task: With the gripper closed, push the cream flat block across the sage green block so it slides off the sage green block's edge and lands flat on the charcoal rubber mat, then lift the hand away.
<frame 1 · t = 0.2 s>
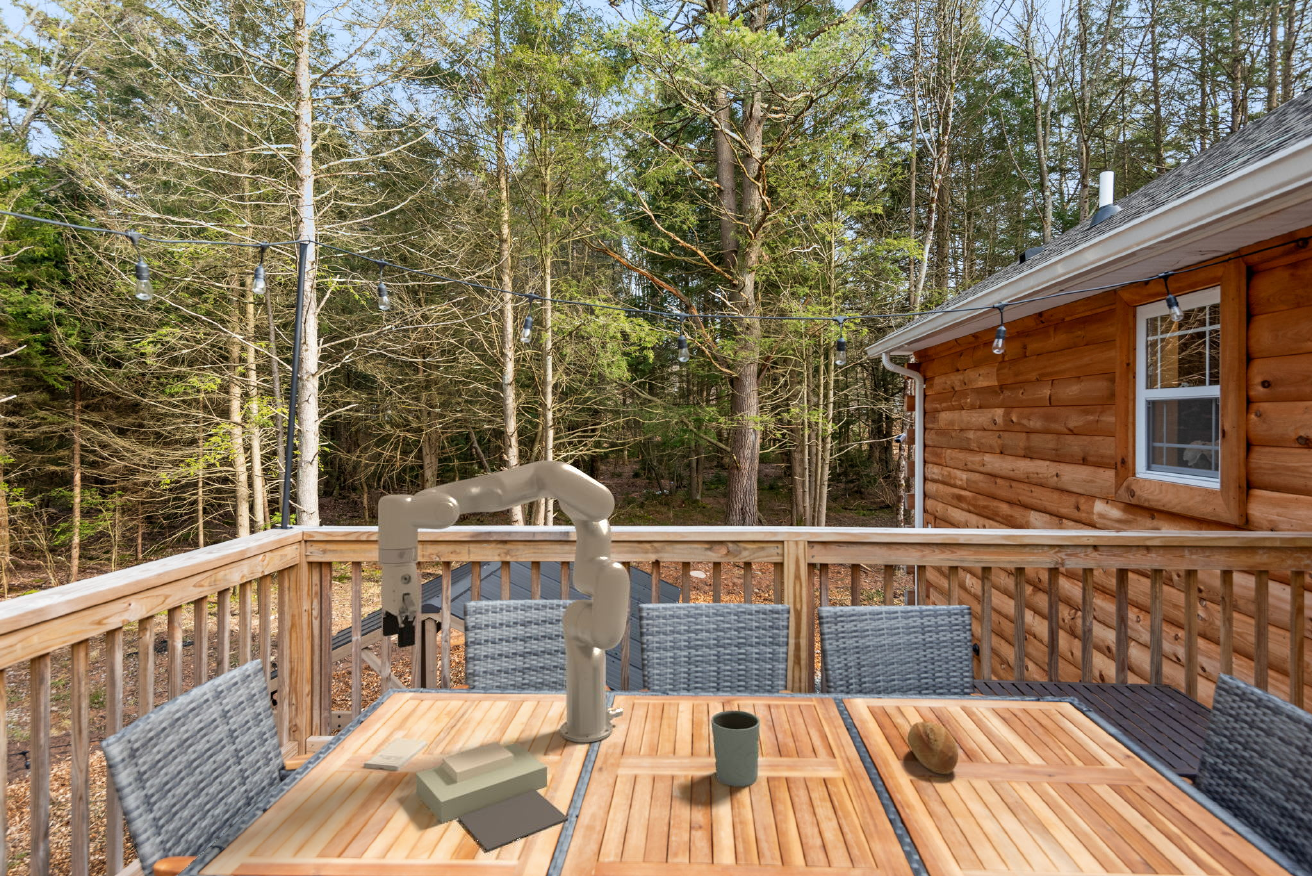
hand: (398, 640, 140), 30 cm above the table, tool pointing down, fingers open, 9 cm apart
bread roll: (932, 763, 151), on the table
cream flat block: (478, 766, 142), point 4 cm above the table, touching sage green block
mat: (513, 819, 129), on the table
sage green block: (482, 789, 140), on the table
grey green cup: (735, 777, 145), on the table
external hard drive: (396, 759, 155), on the table
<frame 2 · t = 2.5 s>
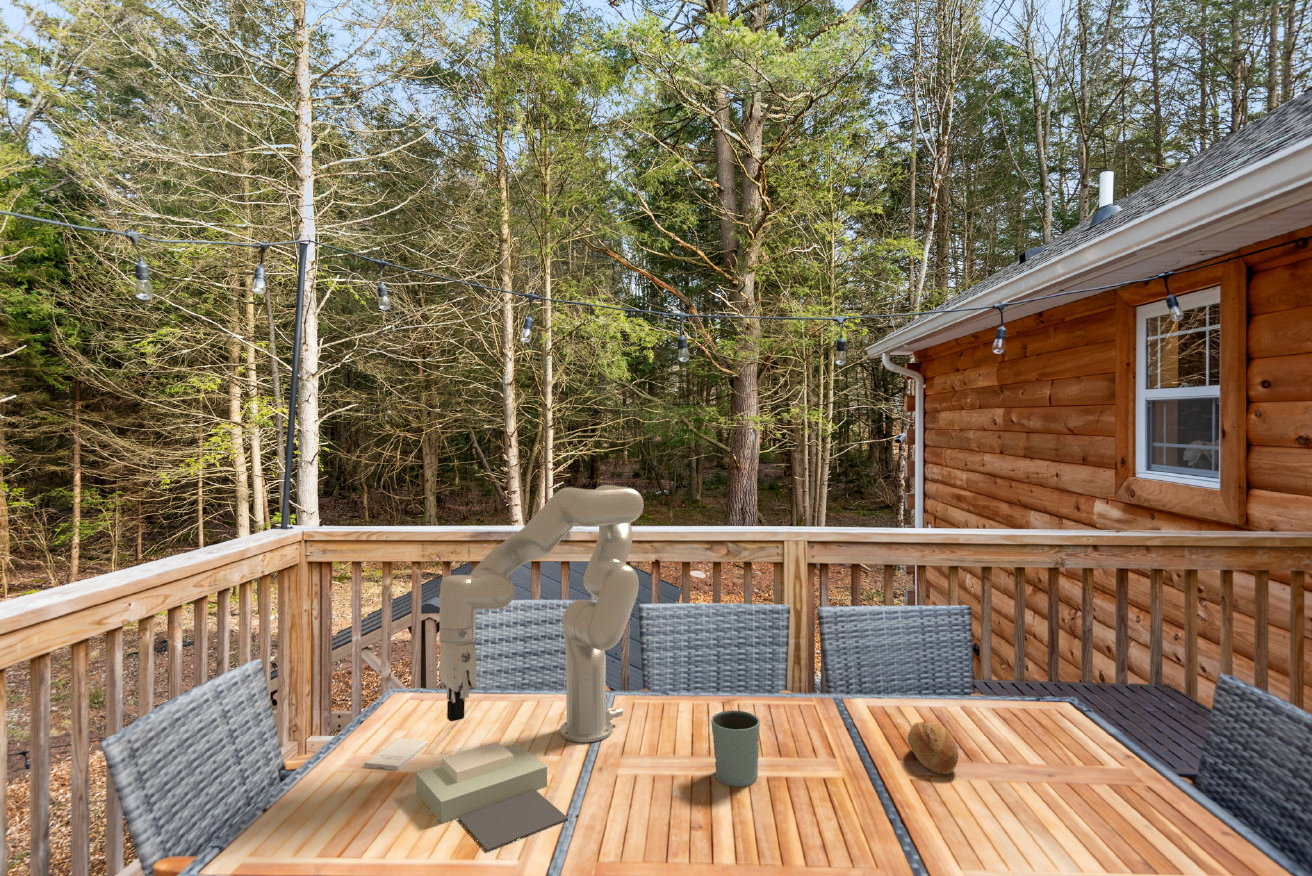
hand: (455, 718, 149), 11 cm above the table, tool pointing down, fingers closed
nothing on the table moved.
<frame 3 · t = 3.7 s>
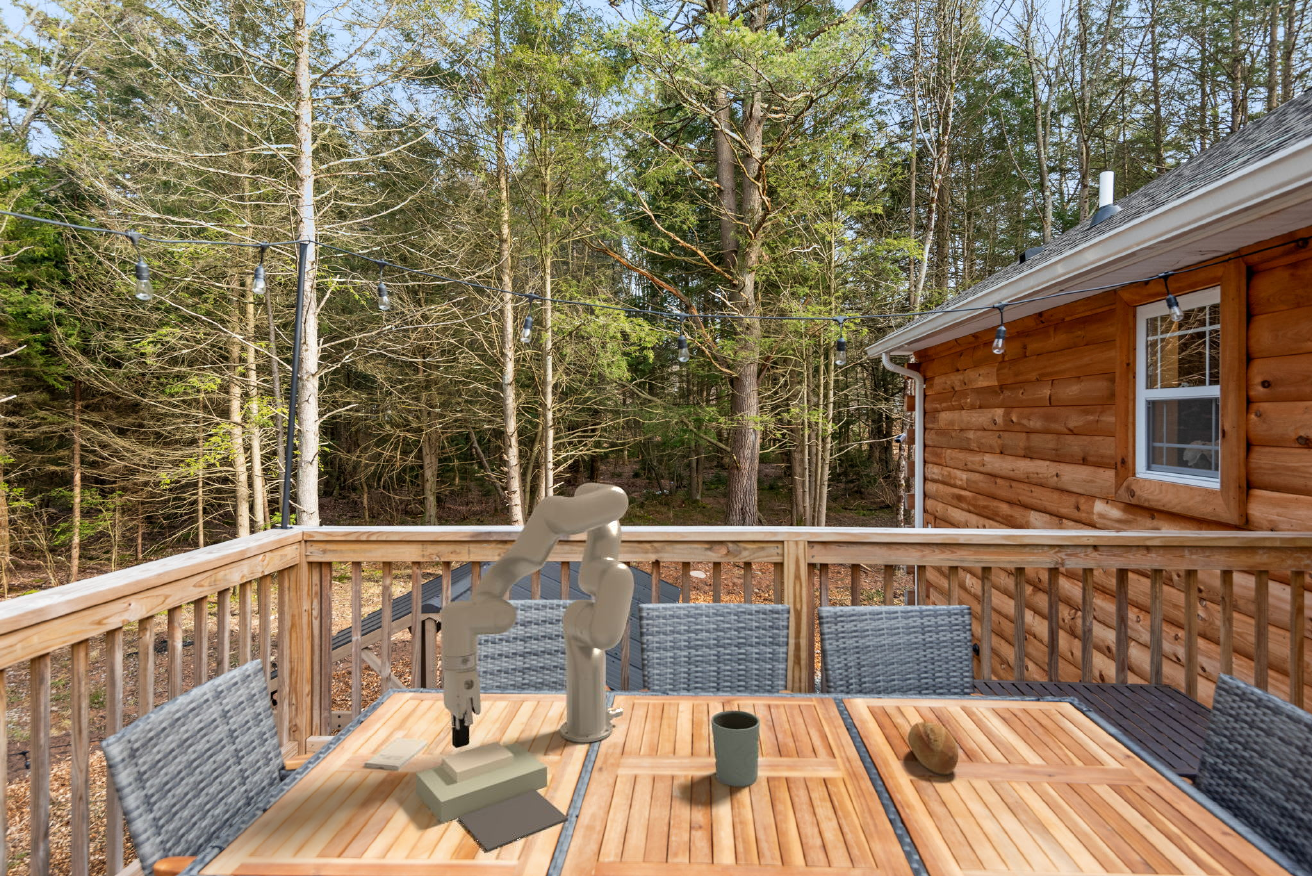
hand: (460, 745, 149), 5 cm above the table, tool pointing down, fingers closed
nothing on the table moved.
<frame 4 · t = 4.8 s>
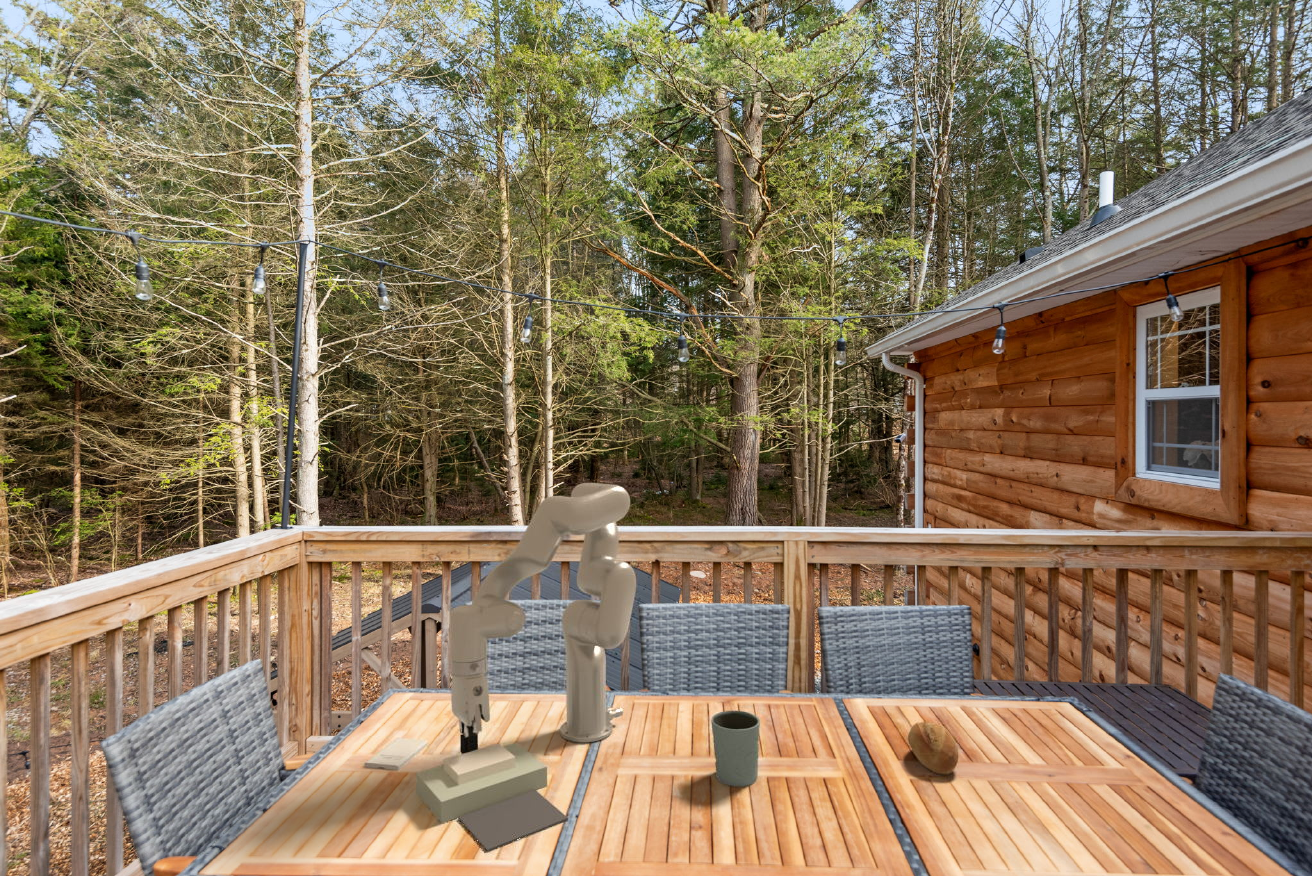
hand: (469, 752, 145), 5 cm above the table, tool pointing down, fingers closed
cream flat block: (479, 768, 141), point 4 cm above the table, touching sage green block, gripper
everything else where it was.
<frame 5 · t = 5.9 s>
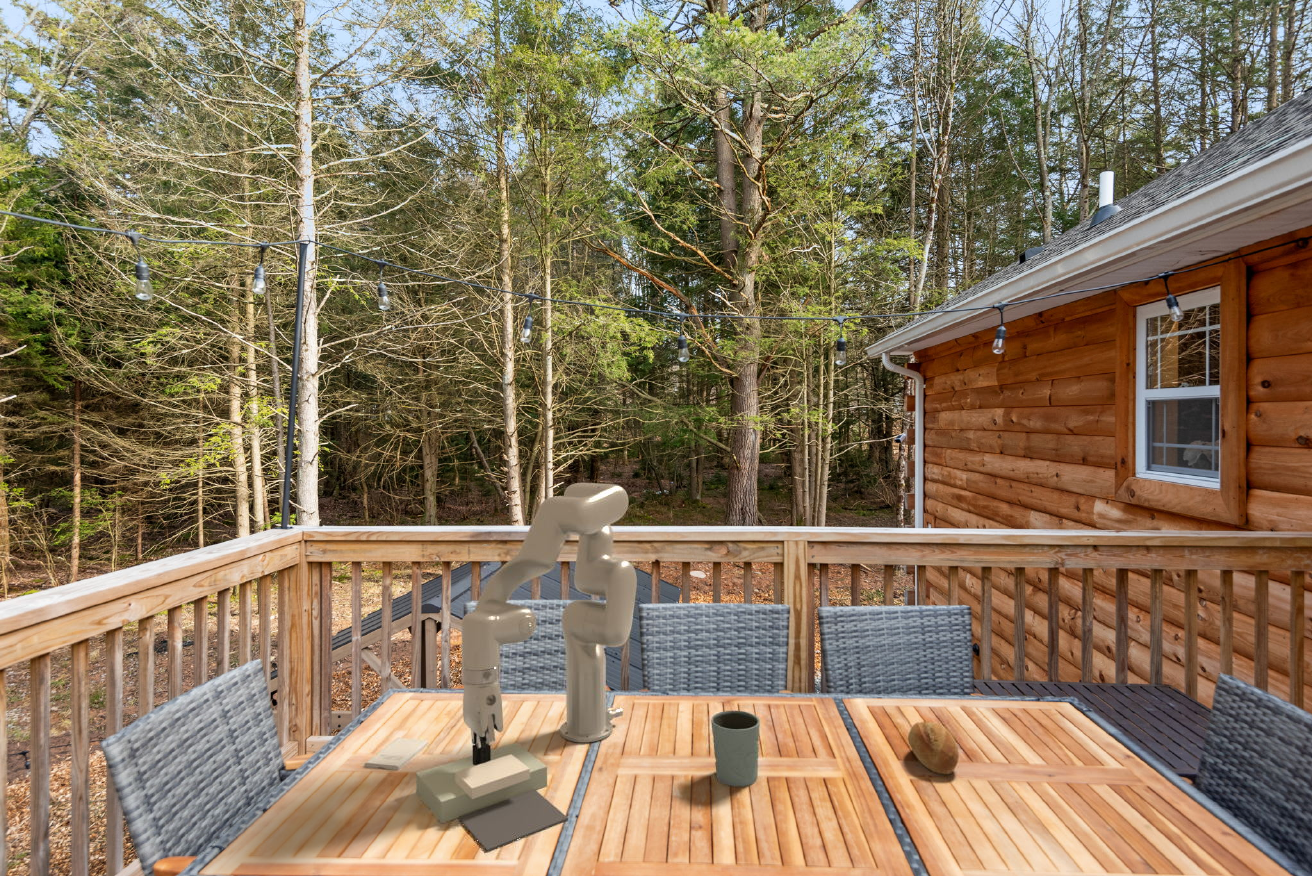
hand: (481, 764, 140), 5 cm above the table, tool pointing down, fingers closed
cream flat block: (492, 780, 136), point 4 cm above the table, touching gripper
everything else where it was.
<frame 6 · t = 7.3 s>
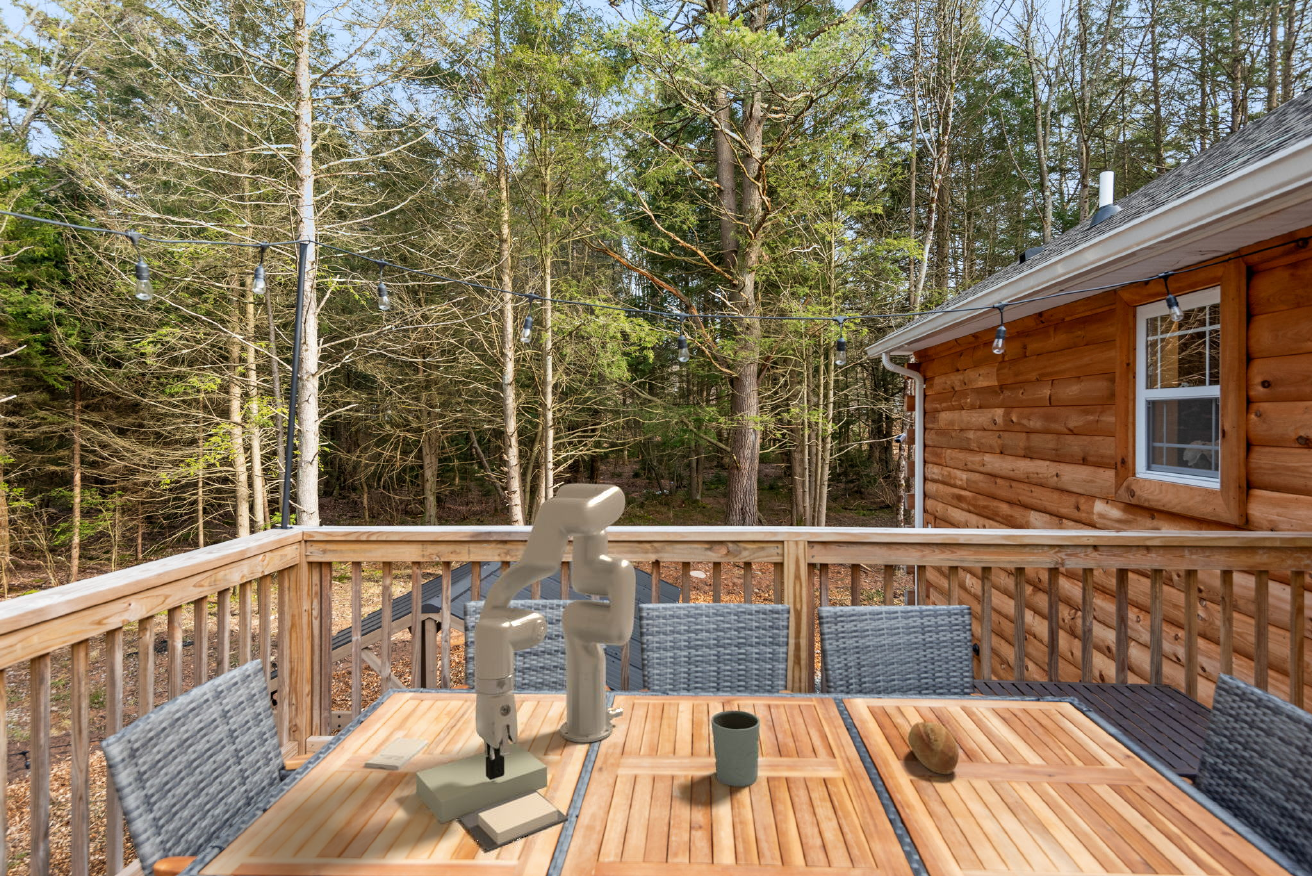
hand: (495, 776, 135), 5 cm above the table, tool pointing down, fingers closed
cream flat block: (518, 811, 127), point 2 cm above the table, tilted 180°, touching mat
everything else where it was.
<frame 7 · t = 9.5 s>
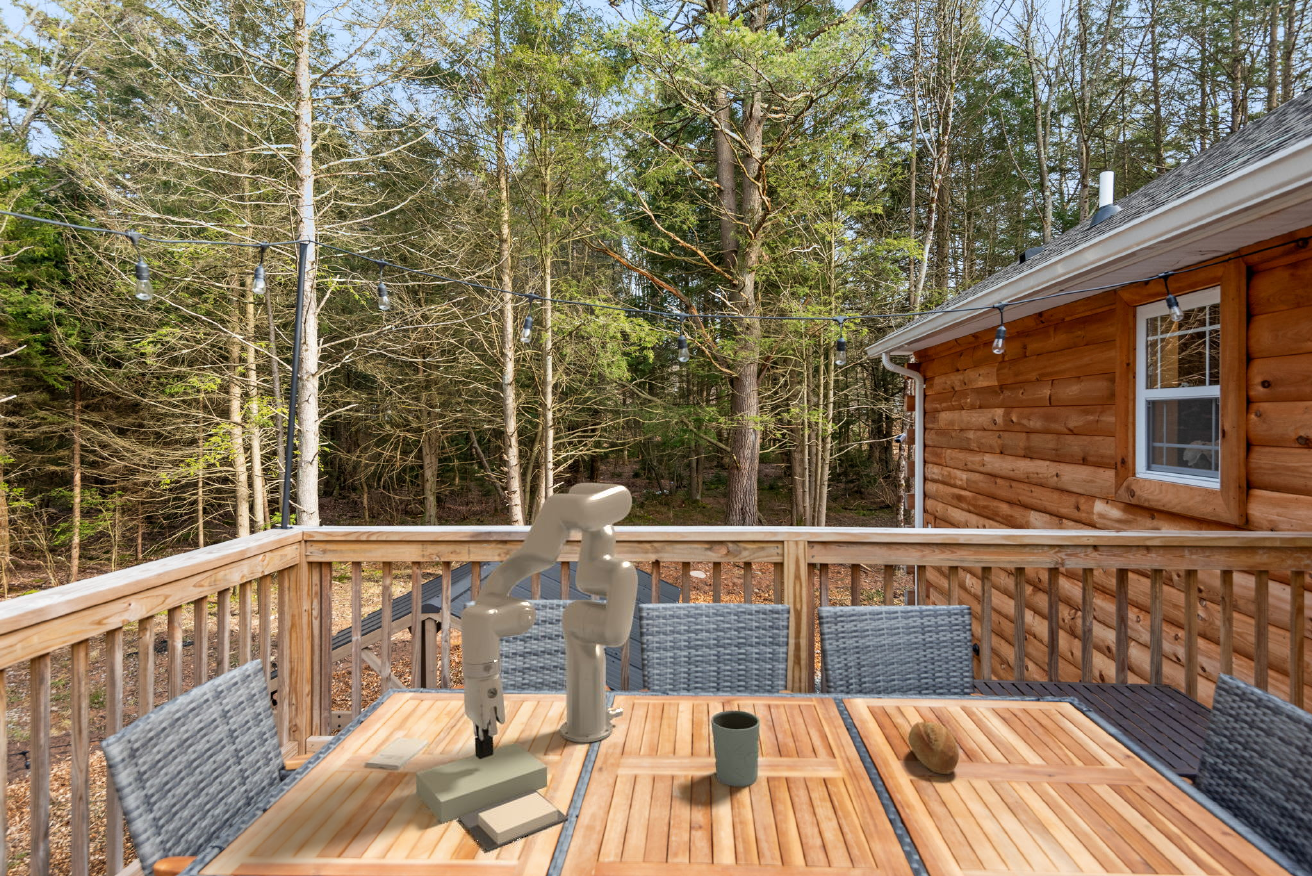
hand: (484, 755, 141), 6 cm above the table, tool pointing down, fingers closed
nothing on the table moved.
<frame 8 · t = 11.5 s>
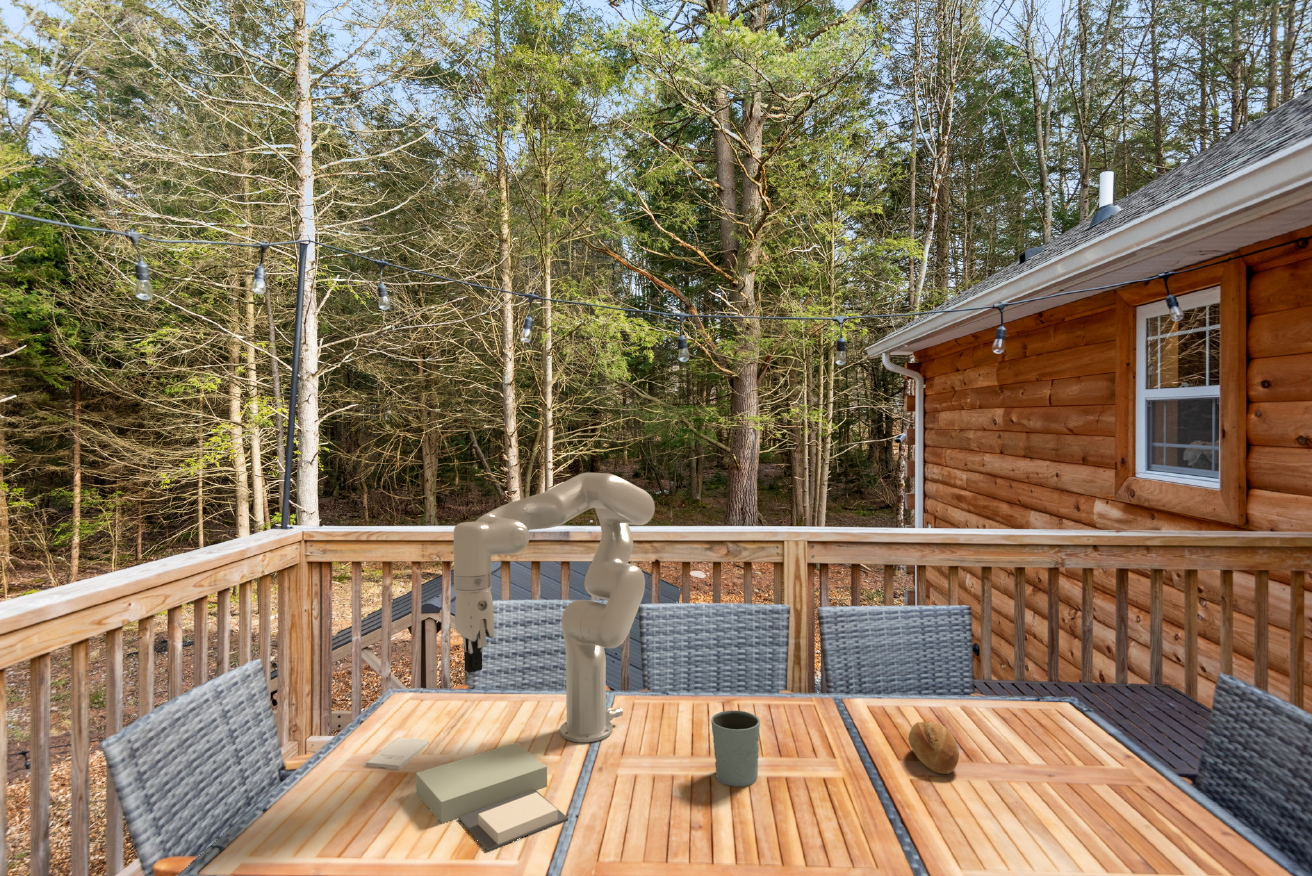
hand: (473, 670, 143), 23 cm above the table, tool pointing down, fingers closed
nothing on the table moved.
at the end: cream flat block point 2.4 cm above the table; cream flat block inside the target area on the mat (2.1 cm from its centre), point 2.4 cm above the mat's base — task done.
